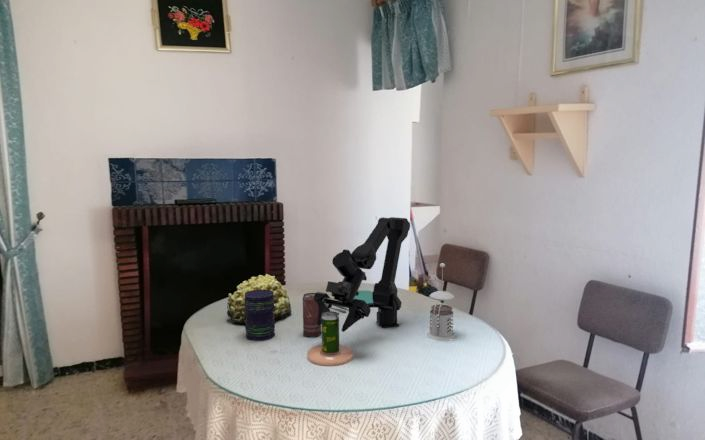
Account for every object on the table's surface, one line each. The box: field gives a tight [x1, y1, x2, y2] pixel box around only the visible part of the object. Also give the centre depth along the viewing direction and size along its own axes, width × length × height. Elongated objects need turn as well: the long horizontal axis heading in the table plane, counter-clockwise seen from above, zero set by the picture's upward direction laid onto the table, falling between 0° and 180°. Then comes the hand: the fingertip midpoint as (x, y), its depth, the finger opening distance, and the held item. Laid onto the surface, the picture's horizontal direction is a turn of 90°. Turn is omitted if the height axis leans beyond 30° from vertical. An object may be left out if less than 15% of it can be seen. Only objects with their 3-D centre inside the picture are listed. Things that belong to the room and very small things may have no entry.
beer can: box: [321, 310, 340, 355], centre depth 151 cm, size 5×5×12 cm
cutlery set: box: [329, 289, 374, 316], centre depth 205 cm, size 20×30×2 cm, turn 131°
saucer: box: [306, 344, 354, 367], centre depth 151 cm, size 14×14×1 cm
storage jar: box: [244, 289, 276, 342], centre depth 168 cm, size 10×10×15 cm
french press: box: [426, 262, 457, 341], centre depth 166 cm, size 10×12×25 cm
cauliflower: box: [226, 273, 292, 325], centre depth 189 cm, size 25×24×16 cm
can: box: [302, 292, 322, 338], centre depth 169 cm, size 6×6×14 cm
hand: (330, 328), depth 150 cm, fingers open, 9 cm apart
